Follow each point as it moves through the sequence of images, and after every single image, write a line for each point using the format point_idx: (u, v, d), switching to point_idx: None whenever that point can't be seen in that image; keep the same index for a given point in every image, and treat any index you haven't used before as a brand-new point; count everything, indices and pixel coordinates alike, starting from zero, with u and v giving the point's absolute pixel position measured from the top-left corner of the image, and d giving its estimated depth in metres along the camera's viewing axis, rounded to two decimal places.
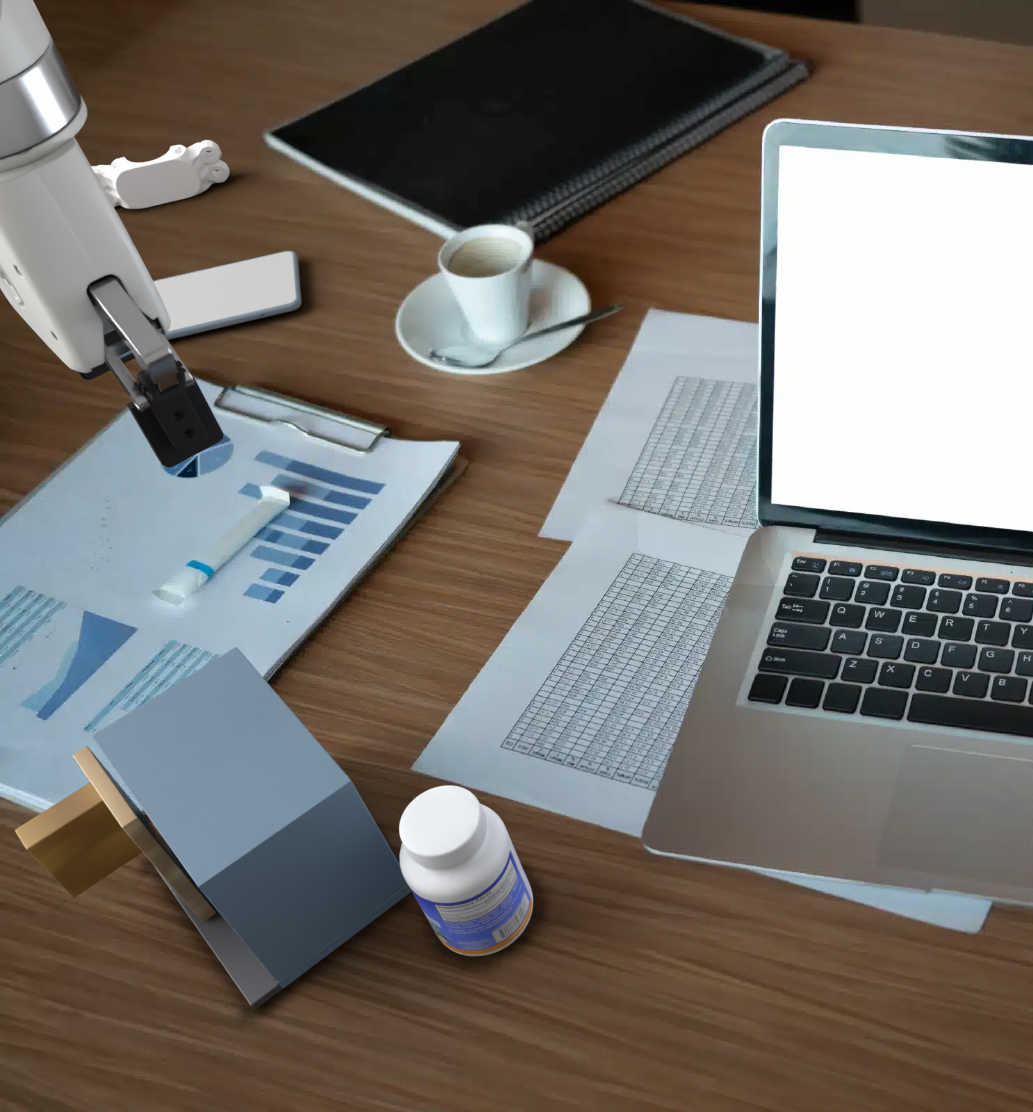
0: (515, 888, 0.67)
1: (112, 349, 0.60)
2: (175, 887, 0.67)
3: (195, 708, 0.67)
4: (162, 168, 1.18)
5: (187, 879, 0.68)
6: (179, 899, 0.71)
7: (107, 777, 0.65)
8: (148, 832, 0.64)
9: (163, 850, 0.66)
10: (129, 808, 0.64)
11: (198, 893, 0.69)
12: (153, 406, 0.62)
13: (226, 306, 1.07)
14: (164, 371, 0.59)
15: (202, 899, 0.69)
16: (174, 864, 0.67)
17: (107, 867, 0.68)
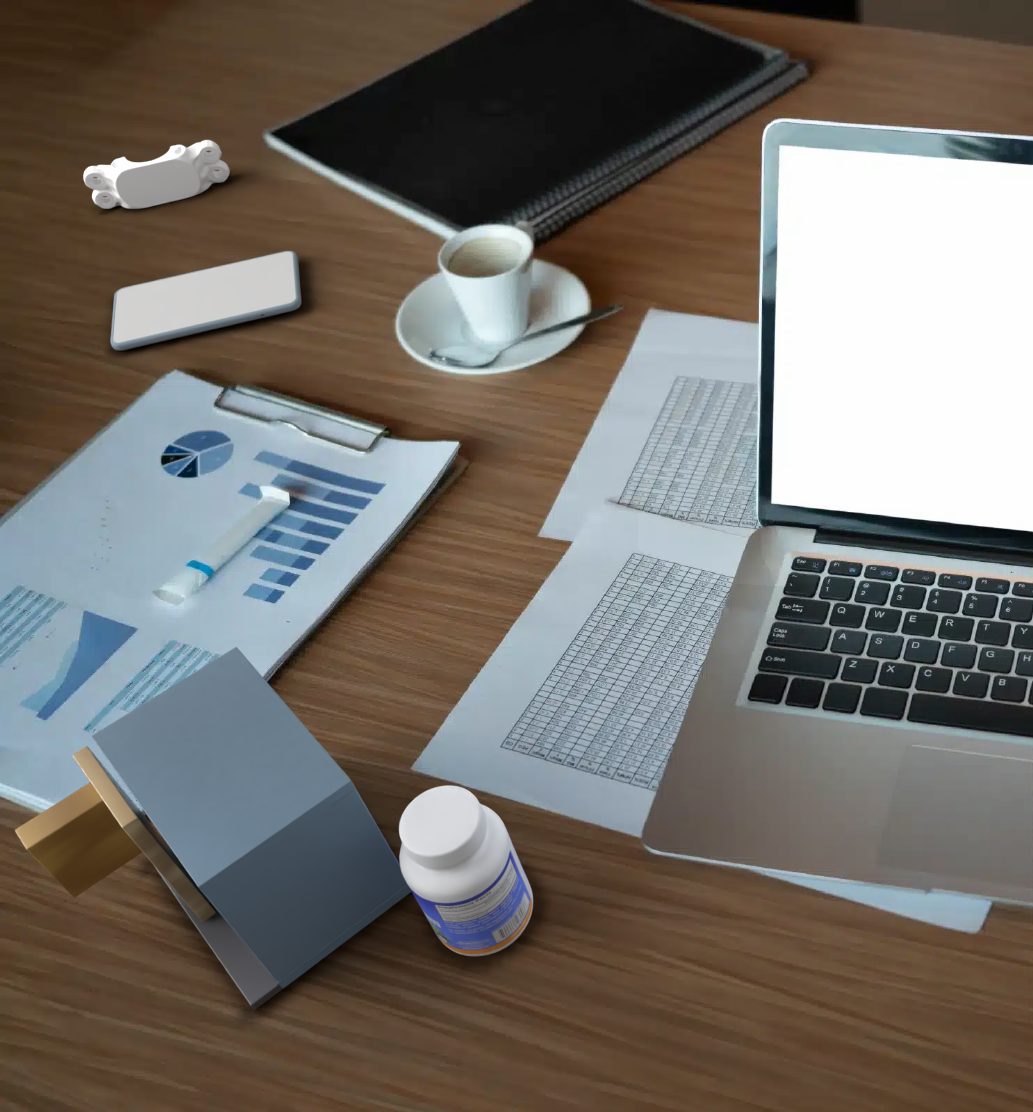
0: (515, 888, 0.67)
1: None
2: (175, 887, 0.67)
3: (195, 708, 0.67)
4: (162, 168, 1.18)
5: (187, 879, 0.68)
6: (179, 899, 0.71)
7: (107, 777, 0.65)
8: (148, 832, 0.64)
9: (163, 850, 0.66)
10: (129, 808, 0.64)
11: (198, 893, 0.69)
12: None
13: (226, 306, 1.07)
14: None
15: (202, 899, 0.69)
16: (174, 864, 0.67)
17: (107, 867, 0.68)
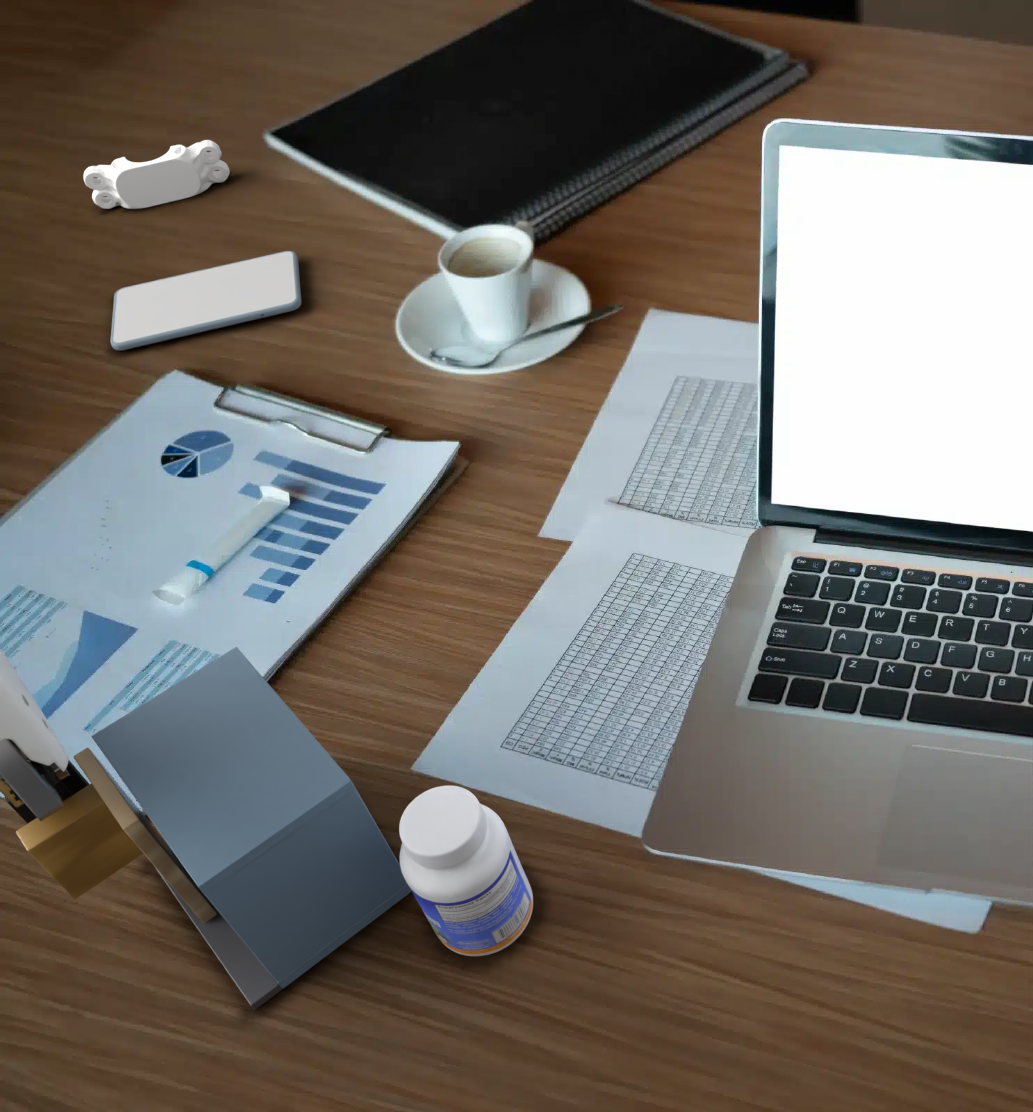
0: (515, 888, 0.67)
1: (2, 779, 0.63)
2: (176, 888, 0.67)
3: (195, 708, 0.67)
4: (162, 168, 1.18)
5: (188, 880, 0.68)
6: (179, 899, 0.71)
7: (108, 778, 0.65)
8: (149, 833, 0.64)
9: (164, 851, 0.66)
10: (130, 809, 0.64)
11: (199, 894, 0.69)
12: None
13: (226, 306, 1.07)
14: None
15: (203, 901, 0.69)
16: (175, 865, 0.67)
17: (108, 868, 0.68)
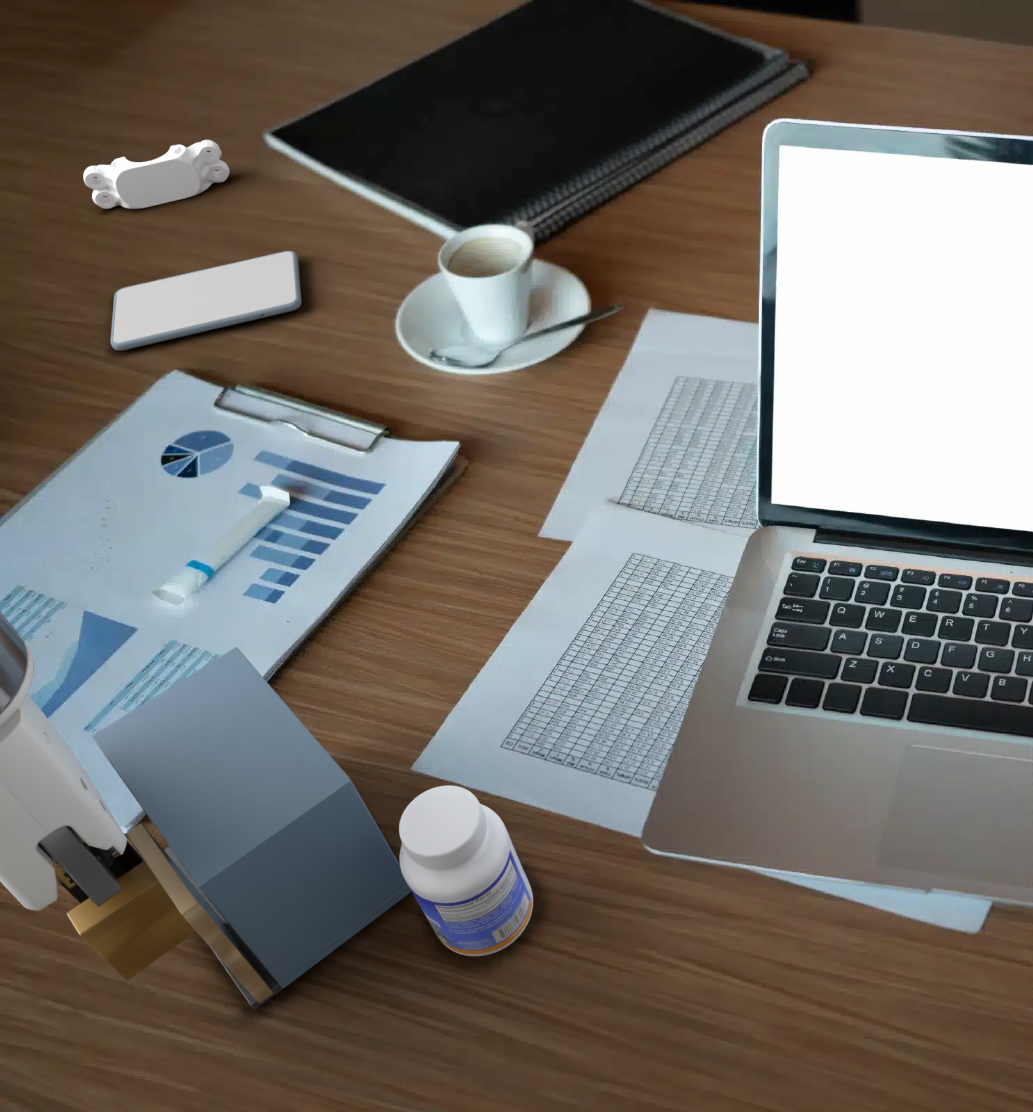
0: (515, 888, 0.67)
1: (56, 861, 0.60)
2: (233, 970, 0.64)
3: (195, 708, 0.67)
4: (162, 168, 1.18)
5: (245, 961, 0.65)
6: None
7: (164, 858, 0.62)
8: (207, 916, 0.61)
9: (222, 934, 0.62)
10: (188, 892, 0.60)
11: (256, 975, 0.66)
12: None
13: (226, 306, 1.07)
14: None
15: (259, 981, 0.66)
16: (233, 947, 0.63)
17: (161, 948, 0.65)
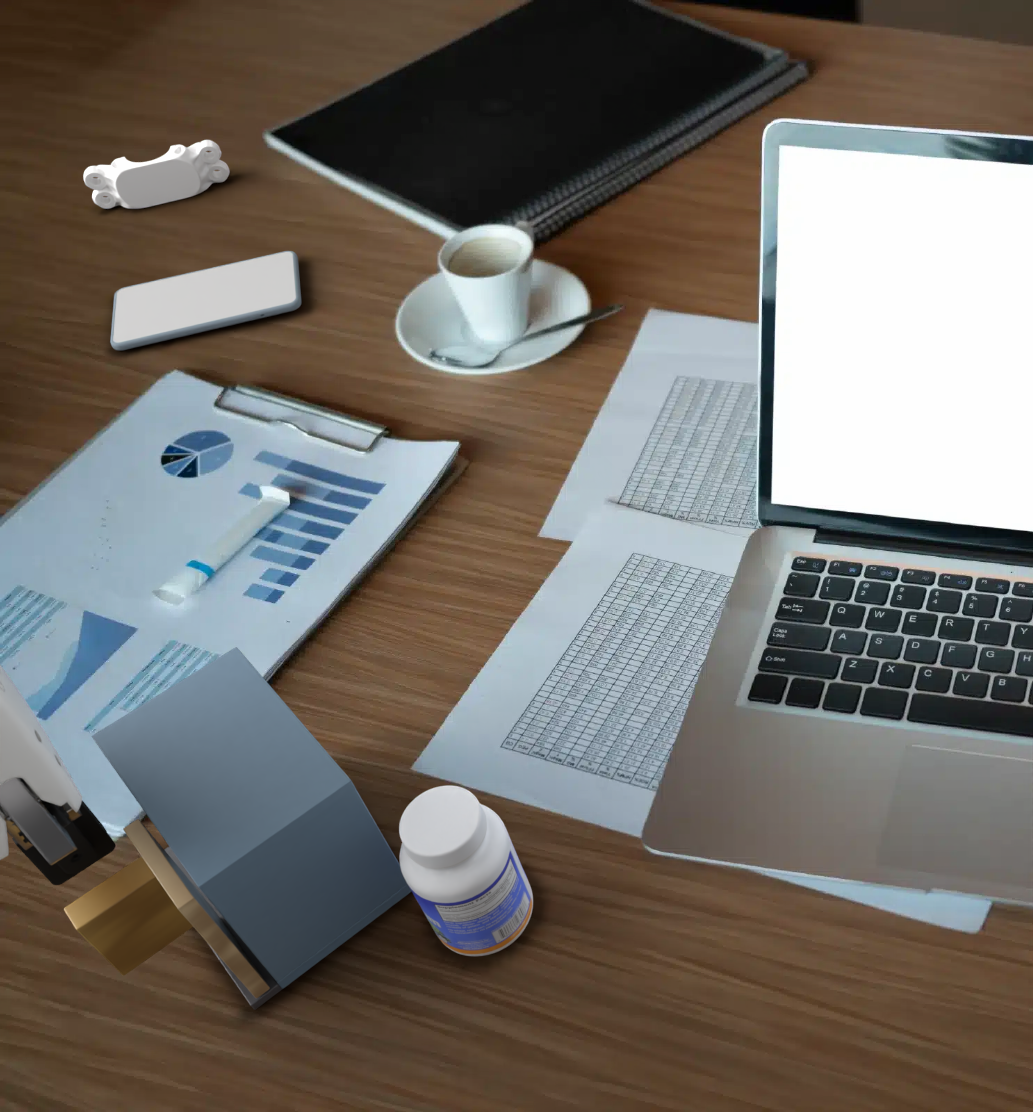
0: (515, 888, 0.67)
1: (11, 819, 0.60)
2: (230, 965, 0.64)
3: (195, 708, 0.67)
4: (162, 168, 1.18)
5: (242, 956, 0.65)
6: None
7: (160, 853, 0.62)
8: (204, 911, 0.61)
9: (219, 929, 0.63)
10: (185, 887, 0.61)
11: (252, 970, 0.66)
12: None
13: (226, 306, 1.07)
14: None
15: (256, 976, 0.66)
16: (229, 942, 0.64)
17: (158, 943, 0.65)
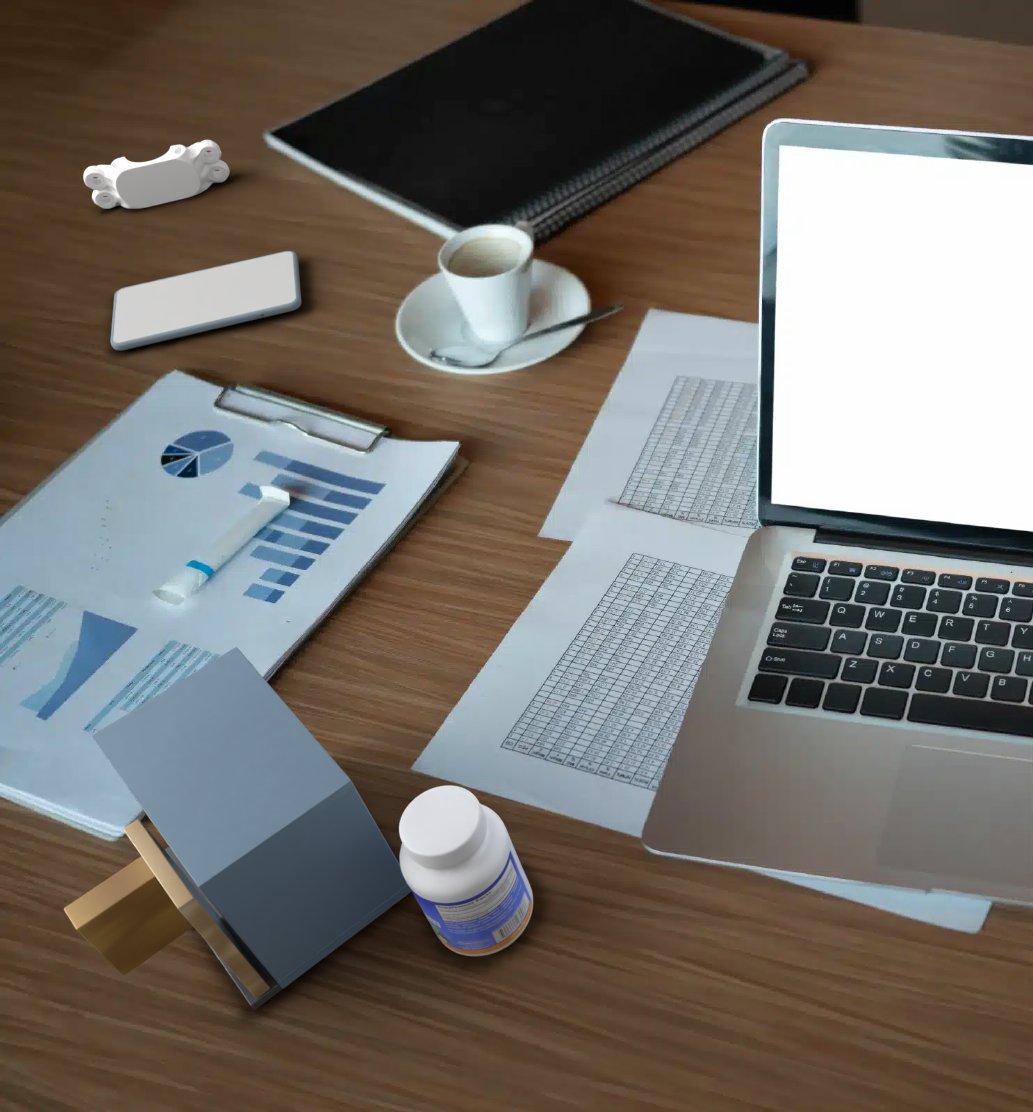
0: (515, 888, 0.67)
1: None
2: (230, 965, 0.64)
3: (195, 708, 0.67)
4: (162, 168, 1.18)
5: (242, 956, 0.65)
6: None
7: (160, 853, 0.62)
8: (204, 911, 0.61)
9: (219, 929, 0.63)
10: (185, 887, 0.61)
11: (252, 970, 0.66)
12: None
13: (226, 306, 1.07)
14: None
15: (256, 976, 0.66)
16: (229, 942, 0.64)
17: (158, 943, 0.65)
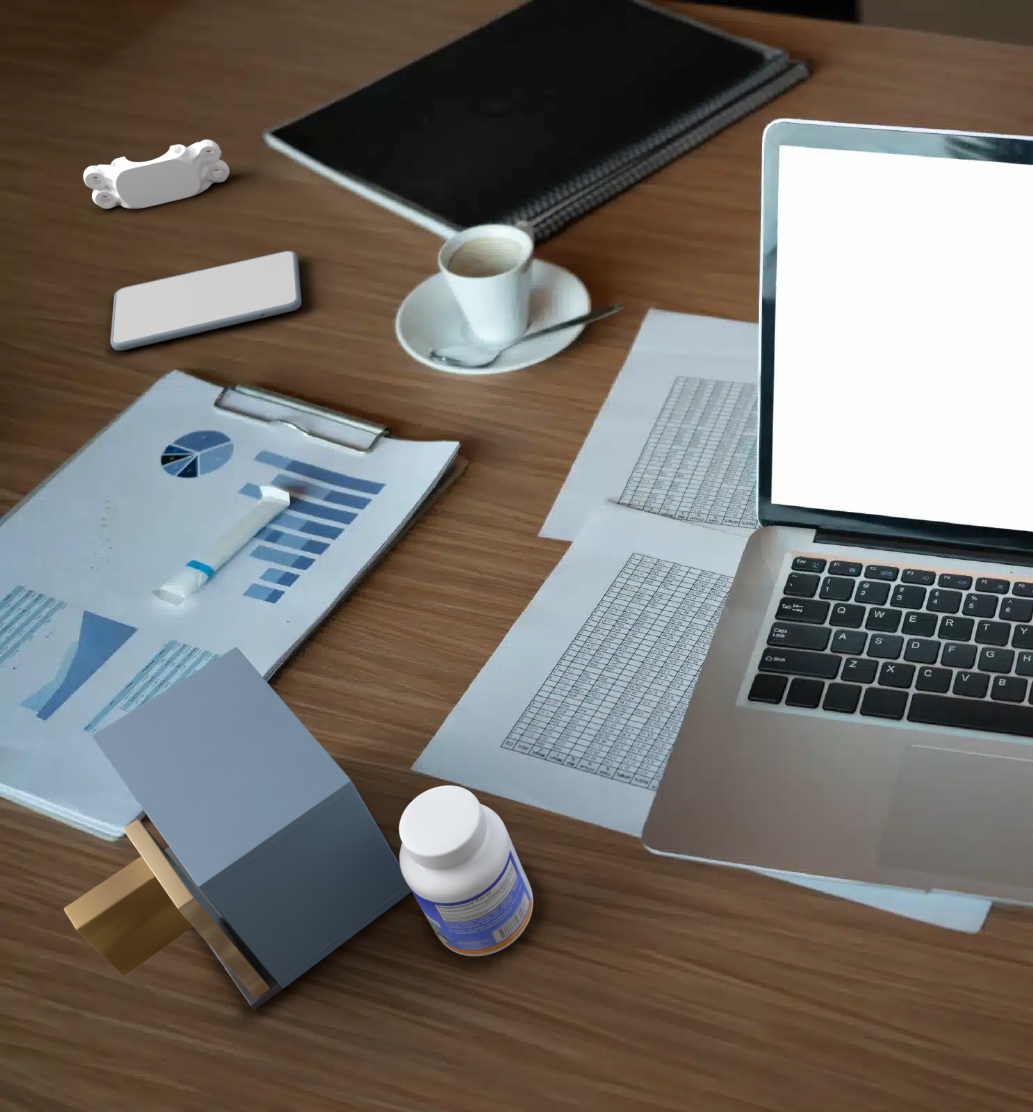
0: (515, 888, 0.67)
1: None
2: (230, 965, 0.64)
3: (195, 708, 0.67)
4: (162, 168, 1.18)
5: (242, 956, 0.65)
6: None
7: (160, 853, 0.62)
8: (204, 911, 0.61)
9: (219, 929, 0.63)
10: (185, 887, 0.61)
11: (252, 970, 0.66)
12: None
13: (226, 306, 1.07)
14: None
15: (256, 976, 0.66)
16: (229, 942, 0.64)
17: (158, 943, 0.65)
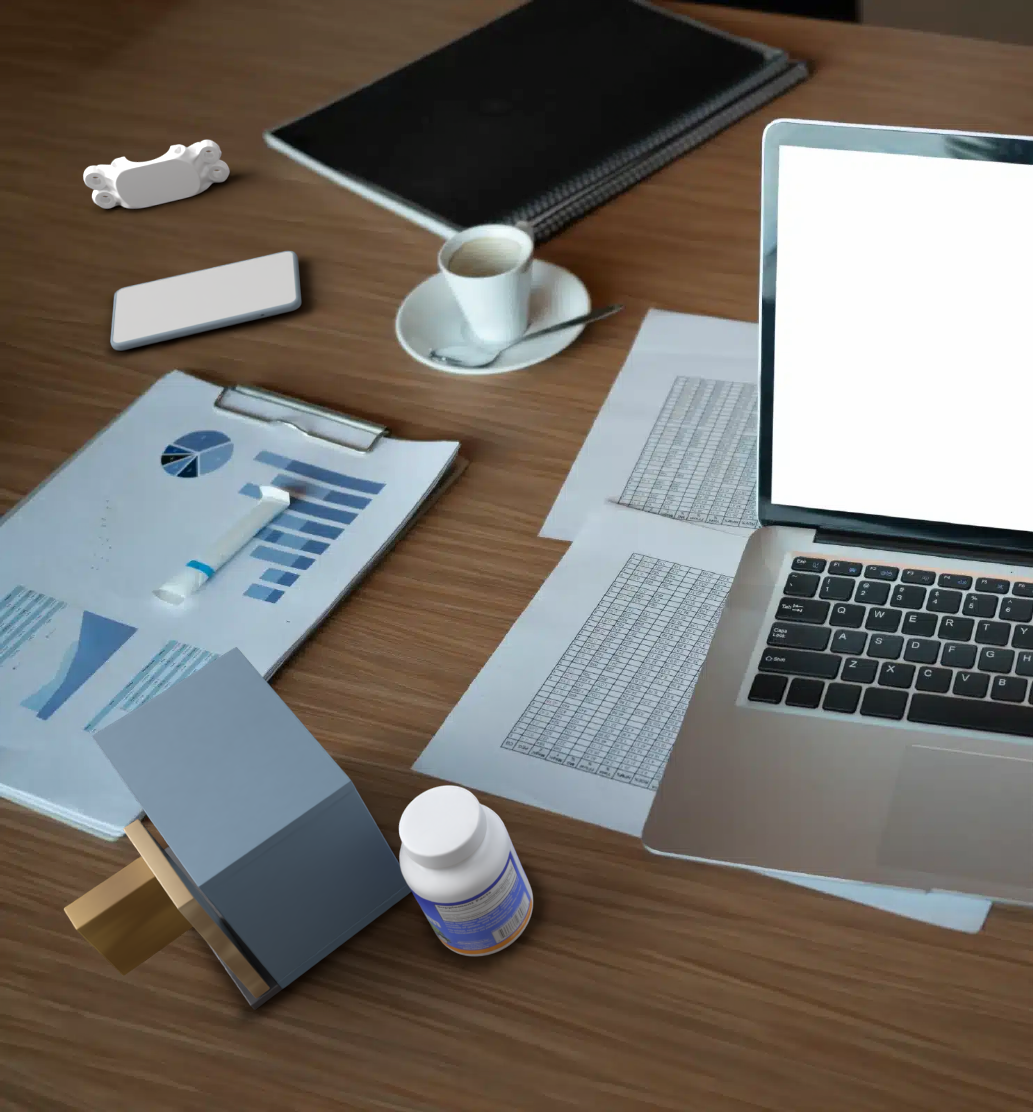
0: (515, 888, 0.67)
1: None
2: (230, 965, 0.64)
3: (195, 708, 0.67)
4: (162, 168, 1.18)
5: (242, 956, 0.65)
6: None
7: (160, 853, 0.62)
8: (204, 911, 0.61)
9: (219, 929, 0.63)
10: (185, 887, 0.61)
11: (252, 970, 0.66)
12: None
13: (226, 306, 1.07)
14: None
15: (256, 976, 0.66)
16: (229, 942, 0.64)
17: (158, 943, 0.65)
